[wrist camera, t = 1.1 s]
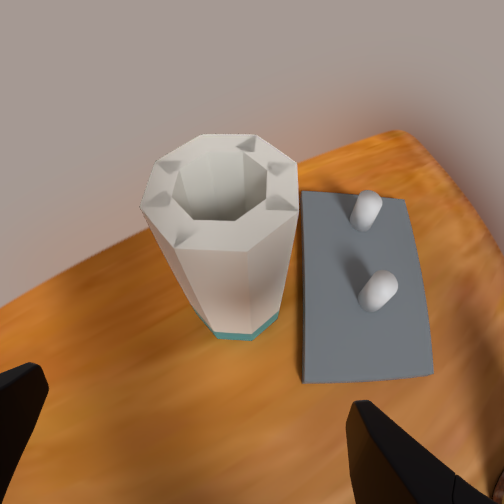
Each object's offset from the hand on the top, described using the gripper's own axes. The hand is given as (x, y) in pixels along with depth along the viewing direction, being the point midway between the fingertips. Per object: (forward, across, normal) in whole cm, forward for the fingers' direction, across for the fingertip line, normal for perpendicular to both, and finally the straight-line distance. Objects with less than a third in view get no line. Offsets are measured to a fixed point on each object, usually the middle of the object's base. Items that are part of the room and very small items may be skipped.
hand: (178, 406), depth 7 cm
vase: (+15, 0, +4) cm, 16 cm away
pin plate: (+17, -10, +3) cm, 20 cm away
